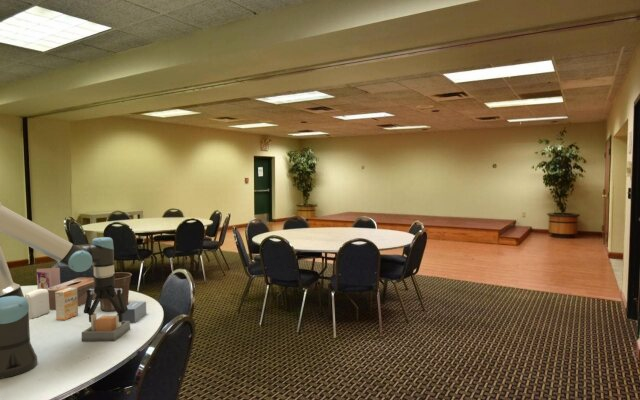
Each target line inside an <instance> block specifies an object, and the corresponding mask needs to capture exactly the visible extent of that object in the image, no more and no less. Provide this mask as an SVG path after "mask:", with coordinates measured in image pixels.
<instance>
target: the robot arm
mask: <svg viewBox="0 0 640 400" xmlns="http://www.w3.org/2000/svg"><path fill="white" fill-rule="evenodd" d="M0 233H1V234H3V235H6V236H7V237H9V238H12V239H14V240H15V241H17V242H20V243H21V244H23V245H25V246H28V247H30V248H31V249H34V250H35V251H37V252H39V253H41V254H43V255H45V256H47V257H49V258H51V259H53V260H55V261H56V262H57V263H58V266H60V267H68V268H70V269H71V270H72V271H74V272H78V273H82V272H86V271H88V270H89V269H90V268H91V267H92V265H93V276H94V277H93V278H94V286H95V288H94V289H92V288H91V289H89V290H87V299H86V303H85V304H84V308H83V313H84V314H87V315H88V322H89V323H91V324H90V325H91V326H90V327H91V331H94V330H96V320H97V319H98V318H97V313H96V310H97V308H98V306H99V305H100V300H101V299H108V300H109V301H111V303H112V305H113V306H114V308H115V310H116V311H115V312H116V313H117V314H115V316H116V329H117V328H118V327H120V326H121V325H122V324H121V322H122V321H123V313H125V312H127V311H128V308H127V305H126V302H125V299H124V295H123V288H120V289H116V288H115V276H114V275H113V274H114V273H115V253H114V252H115V248H114V240H113V238H112V237H110V236H109V237H108V236H107V237H106V236H104V237H102V236H101V237H95V238H93V239H91V241H92V242H91V243H87V244H77V245H75V244H73V243H72V242H70V241H68V240H67V239H65V238H63V237H61V236H59V235H57V234H56V233H54V232H52V231H50V230H48V229H46V228H45V227H43V226H41V225H39V224H37V223H35V222H33V221H32V220H30V219H28V218H26V217H25V216H22V215H21V214H19V213H17V212H15V211H13V210H11V209H10V208H7V207H6V206H5V205H3V204H2V201H1V200H0ZM9 268H10V267H9V266H8V262H7V260H6V257H5V254H4V252H3V249H2V246H1V245H0V379H3V378H2V377H6V378H10V376H11V377H15V376H18V375H20V374H23V372H24V373H26V372H28V371H30V370H32V369H33V368H35V367H36V366H37V365H38V355H37V353H36V352H35V350H34V347H33V345H32V342H31V331H30V319H29V311H28V310H29V305H28V301H27V299H26V298H25V295H24V293H23V290H22V287H21V285H20V284H18V283H16V282H14V281H13V278H12V274H11V271H10V269H9ZM94 292H95V293H96V297H95V300H93V301H92V299H93V294H94ZM115 292H116V294H117V297H118V300H119V302H118V301H117V299H116V296H115V294H114V293H115ZM119 303H120V304H119ZM17 374H18V375H17ZM14 375H15V376H14Z"/></svg>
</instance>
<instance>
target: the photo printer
mask: <svg viewBox="0 0 640 400" xmlns="http://www.w3.org/2000/svg"><path fill="white" fill-rule="evenodd" d="M24 298H26V299H27V301H28V305H29V310H28V311H29V320H32V319H34V318H38V317H40V316H43V315H45V314H48V313H50V311H51V310H50V308H49V293H48V290H47V289H38V288H37V289H34V290H30V291H29V292H27V293H26V294H25V295H24Z"/></svg>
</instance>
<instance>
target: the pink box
mask: <svg viewBox="0 0 640 400" xmlns="http://www.w3.org/2000/svg"><path fill="white" fill-rule="evenodd" d="M60 268H61V267H51V268H50V267H47V268H36V283H37V286H36V287H37V289H47V288H50V287H53V286H56V285H59V284H61V271H60V270H61V269H60Z"/></svg>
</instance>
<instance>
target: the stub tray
mask: <svg viewBox="0 0 640 400" xmlns="http://www.w3.org/2000/svg"><path fill="white" fill-rule="evenodd" d="M121 324H122V325H121V326H120V327H118V328H117V329H116V330H114V331H96V330H94V331H91V326H89V327H88V328H87V329H84V330H83V331H81V342H115V341H117V340H118V339H119V338H120V337H122V336H123V335H125V334H126V333H127V332H128V331H130V330H131V323H130V321H122V322H121Z"/></svg>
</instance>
